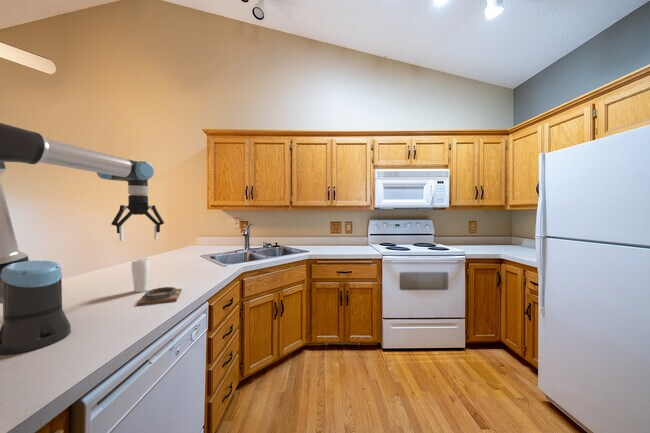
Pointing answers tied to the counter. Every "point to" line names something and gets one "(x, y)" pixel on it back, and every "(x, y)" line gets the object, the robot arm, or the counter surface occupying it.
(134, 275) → the drinking glass
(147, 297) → the ring holder
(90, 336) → the counter surface
